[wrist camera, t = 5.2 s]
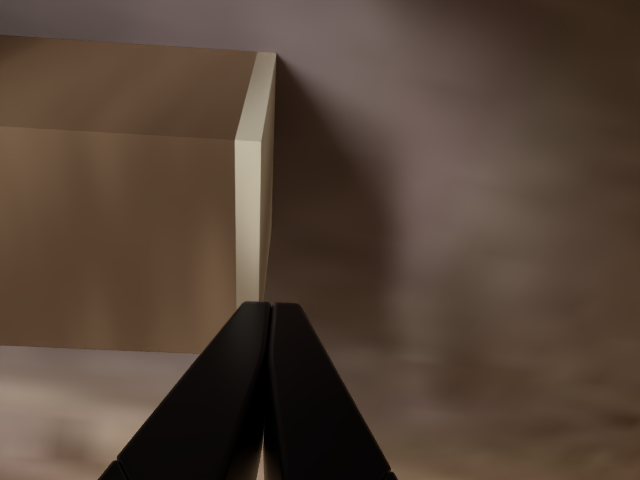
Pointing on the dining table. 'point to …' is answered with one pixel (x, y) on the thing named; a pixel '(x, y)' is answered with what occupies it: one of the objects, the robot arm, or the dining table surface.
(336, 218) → the dining table surface
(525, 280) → the dining table surface
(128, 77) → the walnut block
